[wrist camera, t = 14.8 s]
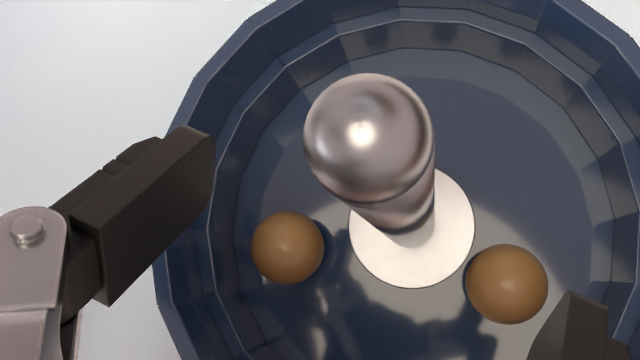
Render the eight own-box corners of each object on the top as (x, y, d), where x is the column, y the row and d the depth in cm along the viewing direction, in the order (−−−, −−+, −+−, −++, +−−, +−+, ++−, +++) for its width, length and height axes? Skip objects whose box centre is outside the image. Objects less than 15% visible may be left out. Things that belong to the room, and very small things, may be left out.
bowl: (190, 82, 29) (121, 28, 22) (573, -14, 26) (618, -107, 19) (248, 475, 25) (186, 543, 19) (696, 413, 22) (799, 469, 16)
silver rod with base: (346, 185, 25) (154, -4, 8) (457, 162, 25) (512, -105, 7) (367, 297, 25) (204, 355, 7) (483, 276, 24) (618, 283, 6)
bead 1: (276, 199, 26) (227, 224, 23) (331, 201, 24) (284, 229, 22) (289, 262, 26) (243, 292, 24) (343, 269, 25) (300, 302, 22)
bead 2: (459, 255, 24) (478, 225, 22) (531, 266, 24) (560, 238, 22) (455, 326, 23) (474, 304, 20) (532, 339, 23) (562, 318, 20)
